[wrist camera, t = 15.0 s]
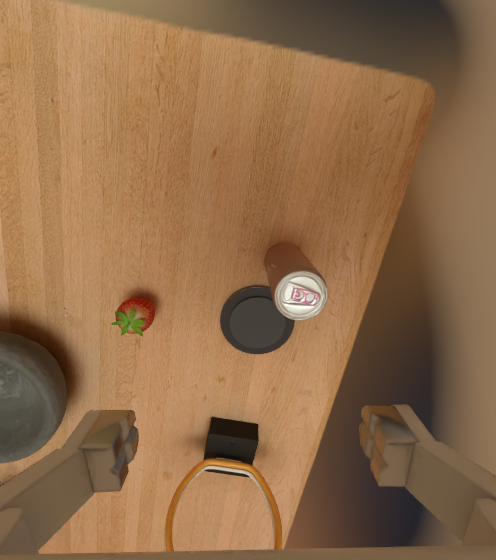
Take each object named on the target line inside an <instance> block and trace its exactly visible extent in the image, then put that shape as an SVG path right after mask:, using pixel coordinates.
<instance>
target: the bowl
mask: <svg viewBox="0 0 496 560" xmlns="http://www.w3.org/2000/svg"><path fill="white" fill-rule="evenodd" d="M66 403H67V387H66V382H65V378H64V375H63V373H62V371H61V368H60V366H59V364H58V362H57V361H56V359H55V358H54V357H53V356H52V354H51V353H50V352H49V351H48V350H47V349H45V348H44V347H43V346H41V345H40V344H38V343H36V342H34V341H32V340H30V339H28V338H26V337H23V336H20V335H17V334H14V333H9V332H5V331H0V463H7V462H13V461H17V460H20V459H22V458H25V457H28V456H30V455H32V454H33V453H35V452H36V451H38V450H39V449H41V448H42V447H43V446H44V445H45V444H46V443H47V442H48V441H49V440H50V439H51V437H52V436H53V435H54V433H55V432H56V431H57V429H58V427H59V426H60V424H61V422H62V419H63V417H64V413H65V409H66Z"/></svg>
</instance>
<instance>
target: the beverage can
mask: <svg viewBox="0 0 496 560" xmlns="http://www.w3.org/2000/svg"><path fill="white" fill-rule="evenodd" d="M265 267H266V272H267V276H268V281H269V286H270V290H271V295H272V300H273V302H274V305H275V306H276V308H277V309H278V310H279V311H280V312H281V313H282V314H283V315H284V316H285V317H287V318H289V319H293V320H306V319H310V318H312V317H314V316H315V315H317V314H318V313H319V312H320V311H321V310H322V309H323V307H324V306H325V304H326V301H327V295H328V294H327V287H326V283H325V280H324V279H323V277H322V276H321V274H320V273H319V272H318V271H317V269H316V268H315V267H314V266H313V264H312V263H311V262H310V261H309V259H308V258H307V257H306V256H305V254H304V253H303V252H302V251H301V249H300V248H299V247H297V246H296V245H294V244H292V243H288V242H283V243H279V244H276V245H274V246H273V247H272V248H271V249H270V250H269V251H268V253H267V255H266V257H265Z"/></svg>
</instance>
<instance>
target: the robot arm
mask: <svg viewBox="0 0 496 560" xmlns="http://www.w3.org/2000/svg"><path fill="white" fill-rule="evenodd" d="M361 415H362V418H363V420H364V421H363V422H362V423H361V425H360V429H359V435H360V443H361V446H362V449H363V451H364V454H365V455H366V456H367V457H368V458H369V459H371V466H370V467H371V470H372V472H373V474H374V476H375V478H376V481H377V483H378V485H379V486H406V489H407V490H408V491H409V492H410V493H412V494H413V495H414V496H415V497H416V498H417V499H418V500H419V501H420V502H421V503H422V504H423V505H424V506H425V507H426V508H427V509H428V510H429V511H430V512H431V513H432V514H433V515H435V516H436V517H437V518H438V519H439V520H440V521H441V522H442V523H443V524H444V525H445V526H446V527H447V528H448V529H449V530H450V531H451V532H452V533H453V534H454V535H455V536H457V537H458V538H459V539H460V540H461V541H462V545H461V546H419V547H374V548H372V547H370V548H324V549H275V550H222V551H171V552H120V553H70V554H39V552H38V550H39V549H40V548H41V547H42V546H43V545H44V544H45V543H46V542H47V541H48V540H49V539H50V538H51V537H52V536H53V535H54V534H55V533H56V532H57V531H58V530H59V529H60V528H61V527H62V526H63V525H64V524H65V523H66V522H67V521H68V520H69V519H70V518H71V517H72V516H73V515H74V514H75V513H76V512H77V510H78V509H79V508H80V507H81V506H82V505H83V504H84V503H85V502H86V501H87V500H88V499H89V498H90V497H91V496H92V495H93V494H94V493H93V492H112V491H121V488H122V486H123V484H124V481H125V479H126V476H127V474H128V472H129V471H128V466H127V464H129V463H130V462H131V461H132V460H133V459H134V457H135V454H136V452H137V447H138V438H139V435H138V429H137V428H136V427H135V426H134V422H135V420H136V417H135V412H134V411H132V410H90V411H89V412H87V413H86V414H85V416H84V417H83V419H82V420H81V421H80V423H79V424H78V426H77V427H76V429H75V430H74V431H73V433H72V434H71V436H70V437H69V438H68V440H67V441H66V443H65V444H64V446H63V447H62V448H61V449H56V450H54V451H53V452H51V453H50V454H48V455H47V456H45V457H44V458H42V459H41V460H39V461H38V462H36V463H35V464H33V465H32V466H30V467H29V468H27V469H26V470H24V471H23V472H21V473H20V474H18V475H17V476H15V477H14V478H12V479H11V480H9V481H8V482H6V483H5V484H3V485H2V486H0V560H496V476H495V475H494V474H492V473H490V472H489V471H487V470H485V469H484V468H482V467H480V466H479V465H477V464H475V463H474V462H472V461H471V460H469V459H468V458H466V457H464V456H463V455H461V454H459V453H458V452H456V451H454V450H453V449H451V448H450V447H448V446H447V445H445V444H443V443H442V442H436V441H435V440H434V438H433V437H432V436H431V434H430V433H429V432H428V430H427V429H426V428H425V427H424V425H423V424H422V422H421V421H420V420H419V418H418V417H417V416H416V415H415V413H414V412H413V411H412V409H411V408H410V407H409V406H408V405H406V404H405V405H392V406H391V405H382V406H364V407H363V408H362V413H361Z"/></svg>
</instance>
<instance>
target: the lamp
mask: <svg viewBox="0 0 496 560" xmlns="http://www.w3.org/2000/svg"><path fill="white" fill-rule="evenodd" d="M258 441H259V440H258V424H253V423H247V422H240V421H234V420H227V419H221V418H214V417H212V418H211V423H210V428H209V433H208V439H207V444H206V449H205V454H204V460H203V461H201V462H200V463H198V464H197V465H196V466H195V467H194V468H193V469H192V470H191V471H190V472H189V473H188V474H187V475H186V476H185V478H184V479H183V480H182V482H181V483H180V485H179V486H178V488H177V490H176V492H175V494H174V496H173V498H172V501H171V503H170V506H169V510H168V513H167V518H166V525H165V532H164V552H171V551H174V549H173V541H172V526H173V518H174V514H175V511H176V508H177V506H178V503H179V501H180V499H181V497H182V495H183V494H184V492H185V491H186V489H187V488H188V486H189V485H190V484H191V482H192V481H193V480H194V479H195V478H196V477H197V476H198V475H199V474H200V473H201V472H203V471H208V472H215V473H222V474H229V475H236V476H243V477H249V476H250V477H251V478H252V479H253V480H254V482H255V483H256V484H257V486H258V487H259V489H260V491H261V493H262V495H263V497H264V499H265V501H266V503H267V506H268V508H269V511H270V515H271V519H272V524H273V531H274V549H273V550H275V549H281V548H282V525H281V519H280V514H279V510H278V507H277V504H276V501H275V499H274V496H273V494H272V492H271V490H270V488H269V486H268V484H267V483H266V481H265V479H264V478H263V476H262V475H261V474H260V473H259V471H258V470H257V469H256V468H254V467H253V466H252V464H253V460H254V456H255V452H256V449H257V445H258Z"/></svg>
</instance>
